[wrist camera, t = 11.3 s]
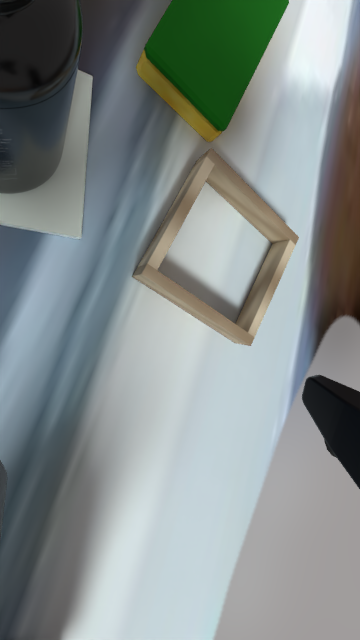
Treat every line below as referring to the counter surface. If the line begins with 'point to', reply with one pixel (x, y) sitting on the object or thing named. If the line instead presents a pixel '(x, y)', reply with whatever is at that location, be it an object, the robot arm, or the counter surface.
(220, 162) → the frame
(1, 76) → the supplement bottle
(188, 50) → the dish sponge
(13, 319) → the counter surface
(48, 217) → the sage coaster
